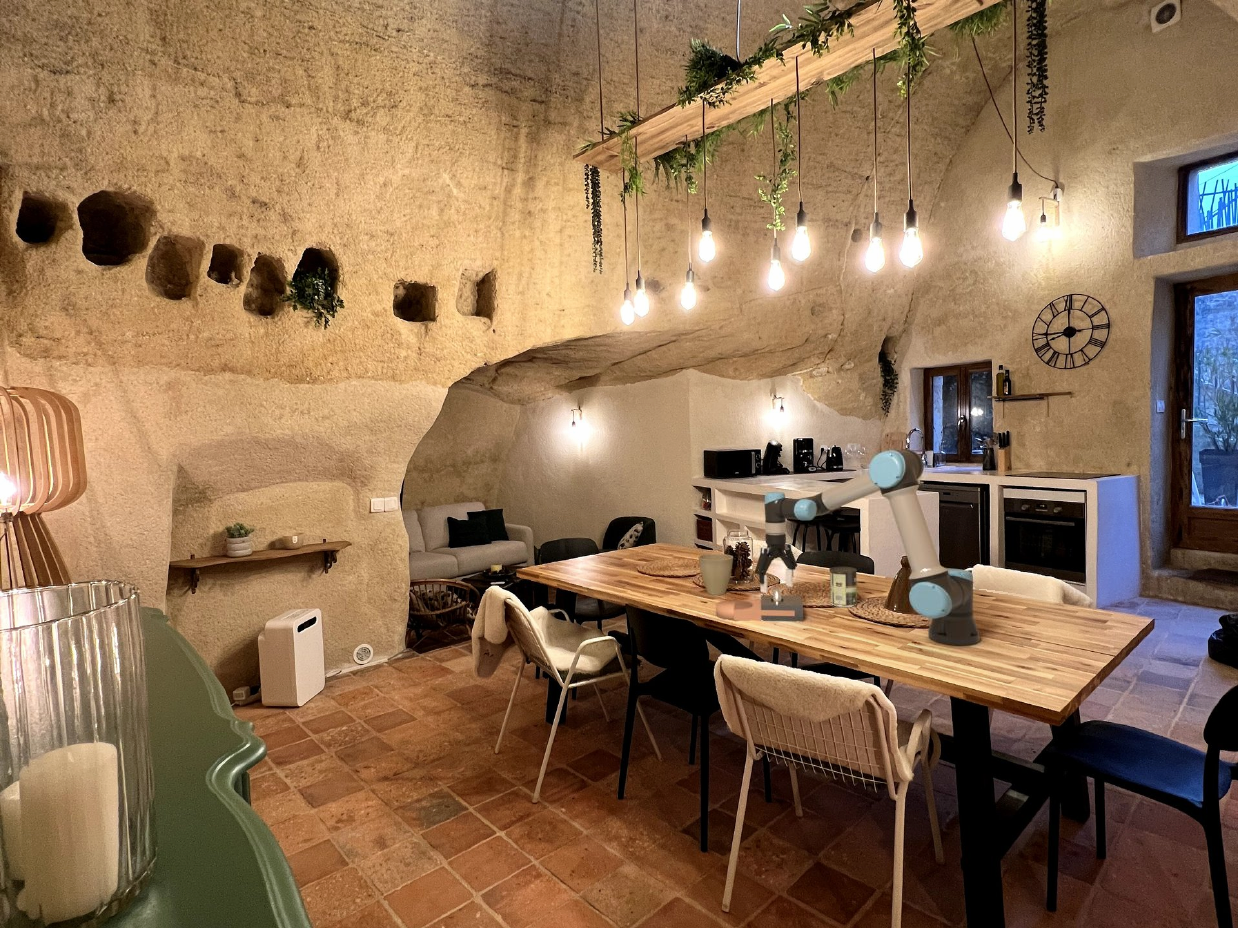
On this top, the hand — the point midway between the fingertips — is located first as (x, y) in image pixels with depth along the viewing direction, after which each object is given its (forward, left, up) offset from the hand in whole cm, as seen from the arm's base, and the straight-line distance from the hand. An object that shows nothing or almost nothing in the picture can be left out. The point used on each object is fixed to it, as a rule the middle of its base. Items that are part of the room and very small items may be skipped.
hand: (776, 589), depth 261 cm
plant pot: (+34, +25, -10) cm, 43 cm away
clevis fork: (0, -1, -10) cm, 10 cm away
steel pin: (0, 0, -10) cm, 10 cm away
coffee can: (+19, -26, -10) cm, 34 cm away
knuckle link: (0, +9, -10) cm, 13 cm away
